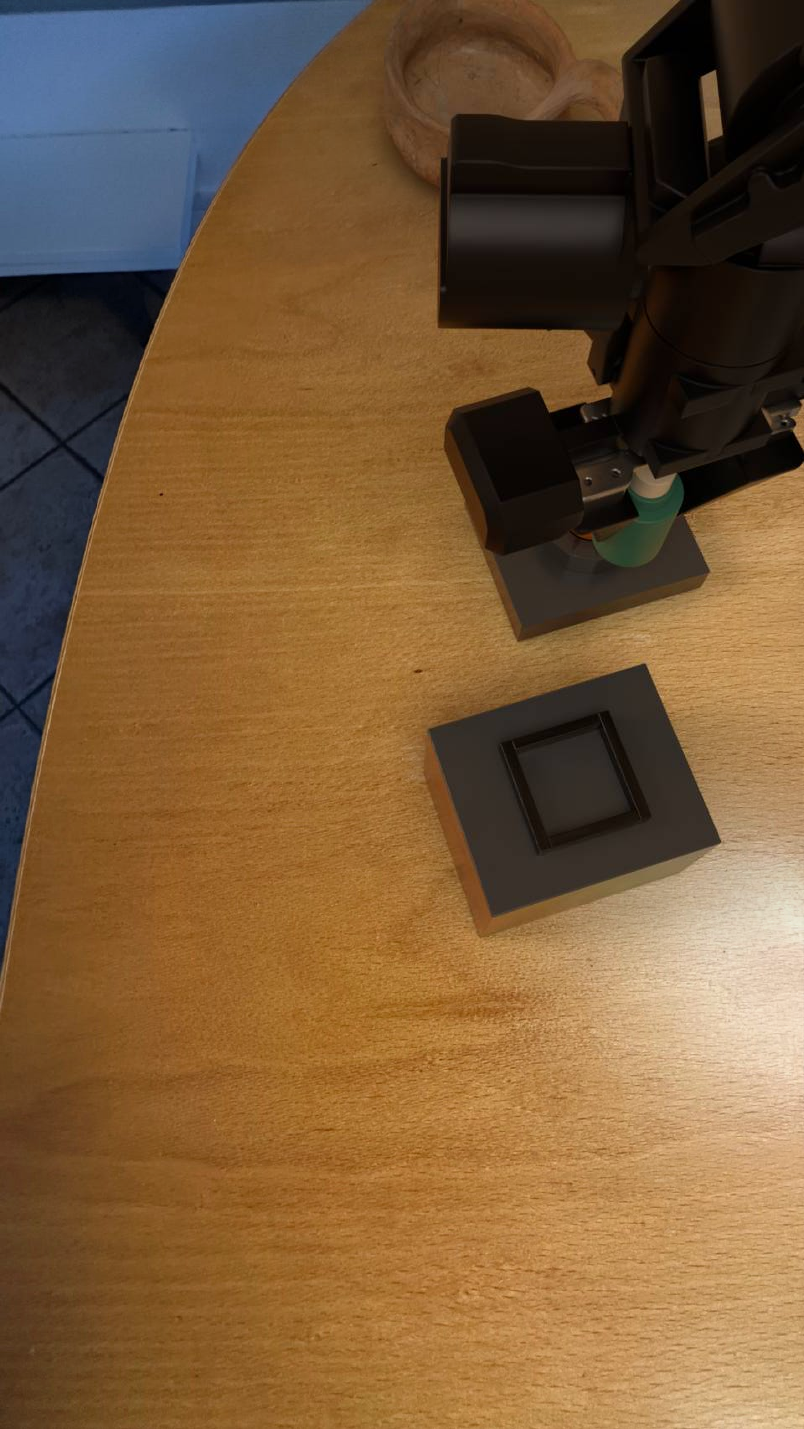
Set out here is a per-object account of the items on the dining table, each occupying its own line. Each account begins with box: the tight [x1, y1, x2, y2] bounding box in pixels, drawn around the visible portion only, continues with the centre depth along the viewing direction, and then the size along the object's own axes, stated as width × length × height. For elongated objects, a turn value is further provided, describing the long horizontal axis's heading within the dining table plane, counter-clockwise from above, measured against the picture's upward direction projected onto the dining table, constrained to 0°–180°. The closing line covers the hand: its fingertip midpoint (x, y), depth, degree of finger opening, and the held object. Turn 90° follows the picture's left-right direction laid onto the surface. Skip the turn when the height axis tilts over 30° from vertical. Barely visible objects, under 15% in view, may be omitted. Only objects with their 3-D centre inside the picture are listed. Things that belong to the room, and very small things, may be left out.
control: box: [464, 501, 711, 643], centre depth 64 cm, size 12×10×4 cm
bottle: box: [592, 468, 684, 567], centre depth 51 cm, size 4×4×6 cm
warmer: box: [423, 662, 722, 939], centre depth 56 cm, size 12×10×9 cm
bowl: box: [381, 0, 624, 188], centre depth 72 cm, size 18×14×10 cm
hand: (633, 521), depth 52 cm, fingers closed on bottle, 3 cm apart
